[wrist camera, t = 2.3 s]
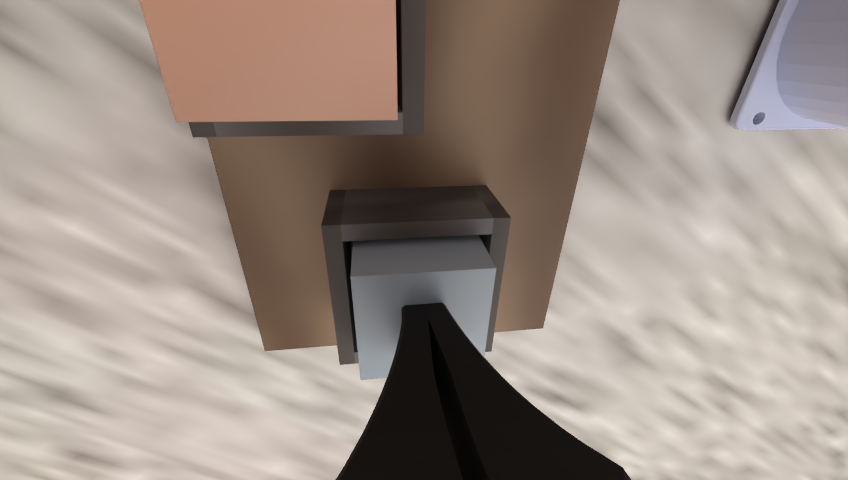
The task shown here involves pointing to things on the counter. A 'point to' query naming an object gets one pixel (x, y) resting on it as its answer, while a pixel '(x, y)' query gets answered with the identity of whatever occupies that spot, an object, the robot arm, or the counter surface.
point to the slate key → (417, 290)
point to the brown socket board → (423, 165)
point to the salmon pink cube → (276, 59)
